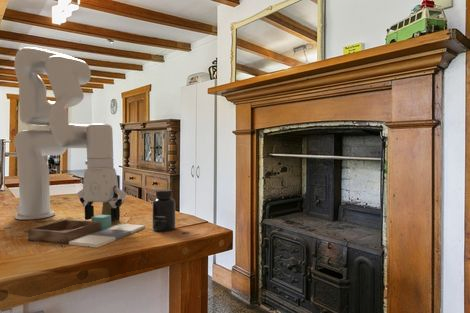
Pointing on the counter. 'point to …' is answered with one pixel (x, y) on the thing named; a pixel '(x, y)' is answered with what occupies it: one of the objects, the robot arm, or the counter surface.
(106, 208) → the cork
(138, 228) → the board
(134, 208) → the counter surface
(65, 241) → the dice tray
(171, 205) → the supplement bottle
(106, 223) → the teal cube
